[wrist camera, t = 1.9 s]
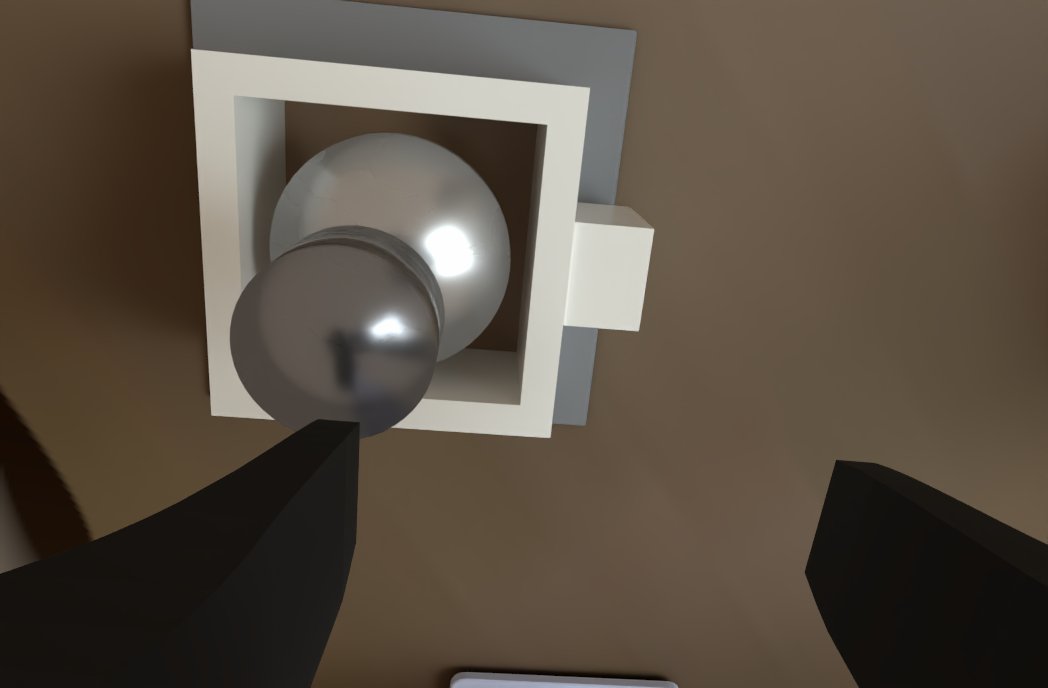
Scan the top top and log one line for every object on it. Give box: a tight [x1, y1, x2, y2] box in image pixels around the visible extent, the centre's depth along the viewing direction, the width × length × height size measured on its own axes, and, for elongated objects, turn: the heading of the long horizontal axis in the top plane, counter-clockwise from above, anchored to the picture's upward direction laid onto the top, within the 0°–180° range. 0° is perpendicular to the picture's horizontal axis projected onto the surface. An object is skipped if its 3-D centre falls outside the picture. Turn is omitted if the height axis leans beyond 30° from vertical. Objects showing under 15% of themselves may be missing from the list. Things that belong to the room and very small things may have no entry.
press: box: [191, 0, 654, 438], centre depth 18 cm, size 11×11×4 cm
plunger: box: [230, 132, 511, 439], centre depth 14 cm, size 5×5×6 cm
